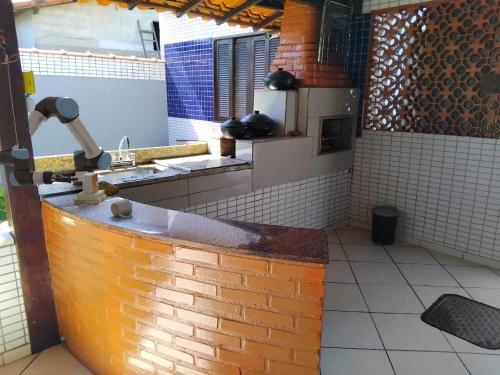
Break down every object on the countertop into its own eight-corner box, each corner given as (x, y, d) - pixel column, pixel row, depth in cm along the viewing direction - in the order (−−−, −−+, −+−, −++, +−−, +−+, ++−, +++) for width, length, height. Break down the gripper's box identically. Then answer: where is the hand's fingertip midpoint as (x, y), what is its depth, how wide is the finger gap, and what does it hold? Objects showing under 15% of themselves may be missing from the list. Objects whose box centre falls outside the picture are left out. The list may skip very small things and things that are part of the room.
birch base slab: (84, 199, 212) (84, 194, 211) (107, 199, 212) (106, 194, 212) (74, 205, 199) (74, 200, 199) (98, 205, 200) (98, 200, 199)
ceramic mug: (110, 215, 180) (109, 200, 178) (125, 211, 186) (124, 197, 184) (121, 220, 173) (120, 205, 171) (136, 216, 179) (136, 201, 177)
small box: (92, 194, 201) (91, 175, 199) (82, 193, 201) (81, 175, 199) (99, 190, 209) (97, 172, 206) (89, 190, 209) (88, 172, 207)
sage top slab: (85, 194, 211) (85, 189, 210) (104, 195, 211) (104, 190, 210) (77, 199, 200) (76, 194, 199) (97, 200, 200) (97, 194, 199)
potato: (109, 197, 213) (108, 184, 211) (95, 194, 219) (94, 181, 218) (120, 194, 220) (120, 181, 218) (106, 191, 226) (105, 179, 225)
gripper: (49, 179, 208) (89, 178, 214) (38, 189, 185) (84, 187, 191) (48, 167, 207) (88, 165, 213) (37, 175, 183) (82, 173, 190)
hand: (86, 176), depth 202 cm, fingers open, 13 cm apart
